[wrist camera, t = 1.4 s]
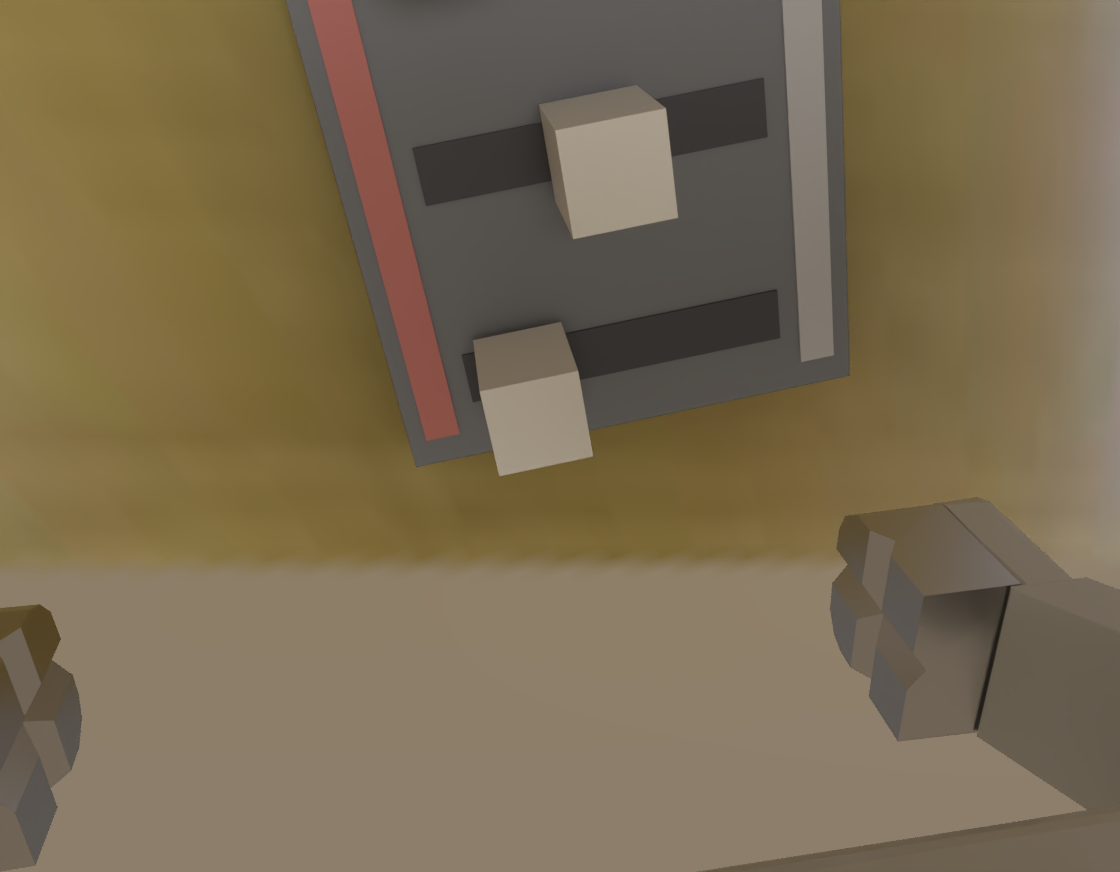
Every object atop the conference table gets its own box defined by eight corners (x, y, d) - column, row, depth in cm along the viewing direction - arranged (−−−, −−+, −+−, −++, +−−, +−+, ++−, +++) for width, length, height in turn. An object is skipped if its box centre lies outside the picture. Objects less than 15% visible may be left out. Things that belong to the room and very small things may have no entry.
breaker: (560, 321, 33) (578, 370, 29) (575, 400, 34) (593, 456, 31) (473, 340, 33) (479, 391, 29) (490, 418, 34) (499, 476, 31)
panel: (806, -285, 28) (833, -299, 26) (829, 354, 37) (850, 376, 35) (245, -179, 27) (233, -186, 25) (416, 440, 37) (416, 468, 35)
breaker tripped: (636, 84, 29) (666, 108, 26) (648, 183, 31) (678, 217, 27) (538, 104, 29) (555, 130, 26) (555, 202, 31) (573, 239, 27)
